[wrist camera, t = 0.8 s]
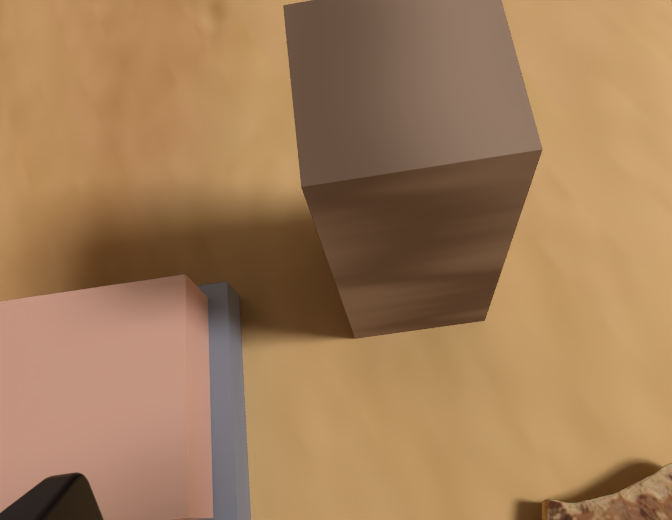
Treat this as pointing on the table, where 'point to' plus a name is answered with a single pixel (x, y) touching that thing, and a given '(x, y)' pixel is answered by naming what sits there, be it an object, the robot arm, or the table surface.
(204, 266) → the table surface
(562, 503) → the shard
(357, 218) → the walnut pillar
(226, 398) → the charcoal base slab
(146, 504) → the terracotta top slab
